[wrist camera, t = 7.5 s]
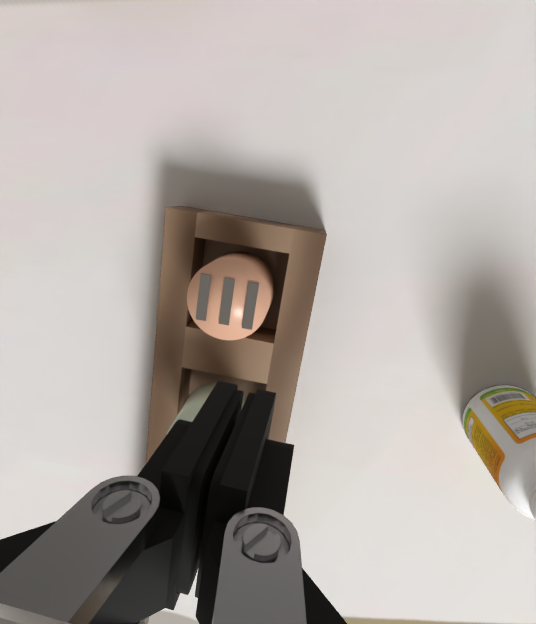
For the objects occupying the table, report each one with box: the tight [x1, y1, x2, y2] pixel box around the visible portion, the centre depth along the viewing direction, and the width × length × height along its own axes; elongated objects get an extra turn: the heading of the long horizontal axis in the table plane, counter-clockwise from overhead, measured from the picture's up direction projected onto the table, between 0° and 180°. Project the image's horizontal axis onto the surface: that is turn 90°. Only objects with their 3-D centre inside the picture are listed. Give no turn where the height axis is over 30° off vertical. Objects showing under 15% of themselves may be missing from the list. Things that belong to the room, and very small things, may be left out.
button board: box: [146, 206, 327, 463], centre depth 29 cm, size 10×27×3 cm, turn 171°
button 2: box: [167, 383, 246, 434], centre depth 26 cm, size 5×5×4 cm
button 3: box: [187, 251, 275, 340], centre depth 25 cm, size 5×5×4 cm
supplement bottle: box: [463, 385, 536, 521], centre depth 24 cm, size 5×5×10 cm
